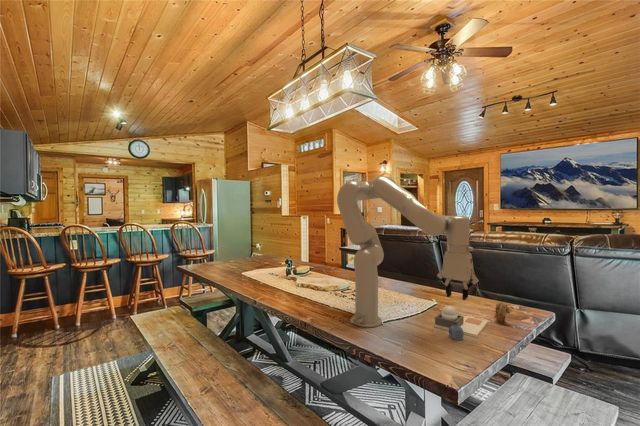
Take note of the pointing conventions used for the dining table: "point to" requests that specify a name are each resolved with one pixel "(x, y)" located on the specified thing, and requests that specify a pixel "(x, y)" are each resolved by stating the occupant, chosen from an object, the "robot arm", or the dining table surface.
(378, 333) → the dining table surface
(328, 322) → the dining table surface
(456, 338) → the decorative dice
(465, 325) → the game board
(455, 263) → the robot arm
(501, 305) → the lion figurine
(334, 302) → the dining table surface
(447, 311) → the dome button
